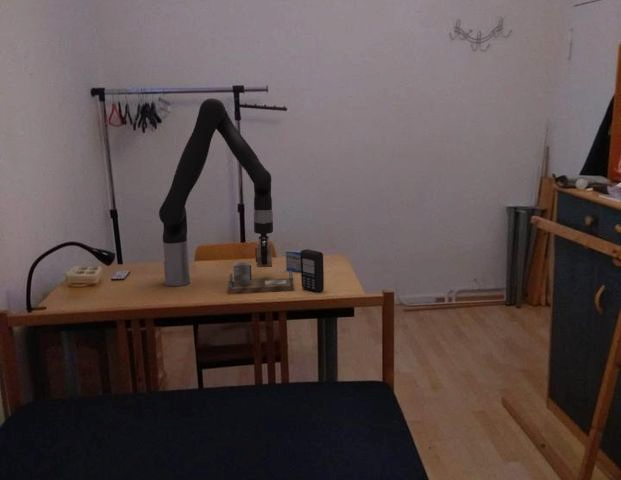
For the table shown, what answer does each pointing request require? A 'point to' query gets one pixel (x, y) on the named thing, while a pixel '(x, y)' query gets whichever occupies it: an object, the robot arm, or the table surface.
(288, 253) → the medicine box
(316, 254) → the card reader
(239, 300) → the table surface
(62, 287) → the table surface
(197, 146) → the robot arm
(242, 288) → the rail
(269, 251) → the finger block
